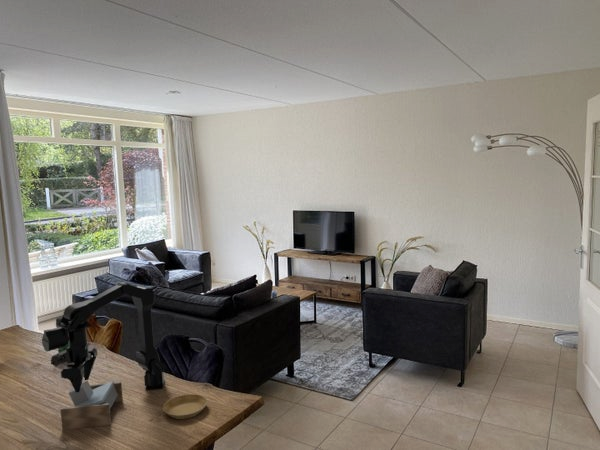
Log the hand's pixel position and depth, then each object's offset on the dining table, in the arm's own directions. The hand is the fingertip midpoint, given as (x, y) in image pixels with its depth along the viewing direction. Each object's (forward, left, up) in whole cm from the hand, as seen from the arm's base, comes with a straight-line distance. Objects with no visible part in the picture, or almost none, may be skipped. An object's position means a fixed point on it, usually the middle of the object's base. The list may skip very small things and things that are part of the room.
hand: (82, 385), depth 160 cm
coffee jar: (+25, -61, -11) cm, 67 cm away
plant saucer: (-35, +4, -11) cm, 37 cm away
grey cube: (0, 0, -5) cm, 5 cm away
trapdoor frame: (-3, 0, -11) cm, 11 cm away
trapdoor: (-4, 0, -9) cm, 10 cm away
